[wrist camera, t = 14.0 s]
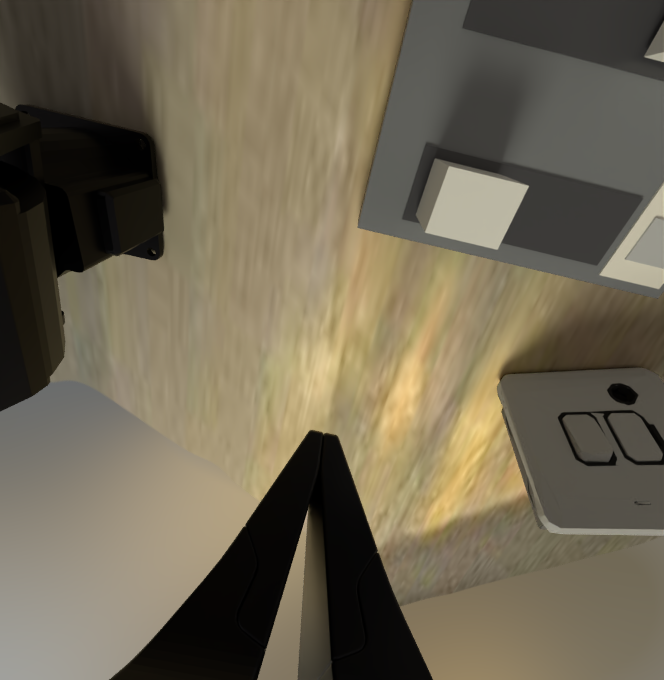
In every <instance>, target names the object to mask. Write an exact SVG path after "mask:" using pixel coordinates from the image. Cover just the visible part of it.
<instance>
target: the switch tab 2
mask: <svg viewBox="0 0 664 680" xmlns="http://www.w3.org/2000/svg"><path fill="white" fill-rule="evenodd" d="M644 57H646V58H650V59H654V60H657V61H661V62H664V22H663V23H662V25H661V27H660V29H659V31H658V32H657V34H656V36H655V38H654V39H653V41H652V43H651V45H650V47H649V48H648V50H647V52H646V54H645V55H644Z"/></svg>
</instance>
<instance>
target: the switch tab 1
mask: <svg viewBox="0 0 664 680" xmlns="http://www.w3.org/2000/svg"><path fill="white" fill-rule="evenodd" d="M528 187H529V186H528V185H526V184H523V183H521V182H518V181H516V180H513V179H511V178H508V177H506V176H503V175H501V174H497V173H492V172H488V171H484V170H480V169H476V168H472V167H468V166H464V165H460V164H456V163H452V162H448V161H444V160H440V159H436V158H435V159H434V162H433V165H432V168H431V171H430V174H429V177H428V180H427V183H426V186H425V189H424V192H423V195H422V198H421V201H420V204H419V207H418V210H417V213H416V216H417V218H418V220H419V222H420V224H421V226H422V228H423V230H424V232H425V233H429V234H433V235H437V236H441V237H445V238H450V239H454V240H458V241H462V242H466V243H471V244H475V245H479V246H483V247H488V248H492V249H496V250H498V248H499V246H500V244H501V242H502V240H503V238H504V236H505V234H506V232H507V230H508V228H509V226H510V224H511V222H512V220H513V218H514V215H515V213H516V211H517V209H518V207H519V205H520V203H521V201H522V199H523V197H524V195H525V193H526V191H527V189H528Z"/></svg>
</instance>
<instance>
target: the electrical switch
mask: <svg viewBox="0 0 664 680" xmlns="http://www.w3.org/2000/svg"><path fill="white" fill-rule="evenodd" d="M497 392H498V396H499V399H500V401H501V404H502V405H503V410H502V415H503V418H504V421H505V424H506V428H507V431H508V434H509V437H510V440H511V443H512V446H513V450H514V453H515V456H516V459H517V462H518V465H519V468H520V471H521V475H522V478H523V481H524V484H525V487H526V490H527V493H528V497H529V500H530V503H531V506H532V509H533V512H534V515H535V519H536V522H537V525H538V527H539V526H540V527H539V528H540V529H548V531H549V532H553V533H559V534H599V535H664V383H663V381H662V380H661V378H660V377H659V376H658V374H656V373H654V372H652V371H650V370H648V369H645V368H640V367H639V368H620V369H601V370H582V371H563V372H544V373H525V374H507V375H505V376H504V377H503V378H502V379H501V381H500V382H499V384H498V386H497Z"/></svg>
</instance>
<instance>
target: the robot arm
mask: <svg viewBox="0 0 664 680" xmlns="http://www.w3.org/2000/svg"><path fill="white" fill-rule="evenodd" d="M28 113H29V115H28ZM140 139H142V140H143V141H144V143H145V149H143V148H142V147H141V146H140V143H139V142H140ZM162 231H164V222H163V210H162V197H161V185H160V183H159V182H158V180H157V169H156V157H155V146H154V142H153V140H152V138H151V137H150V136H149V135H148V134H146V133H144V132H140V131H136V130H131V129H127V128H123V127H119V126H115V125H111V124H107V123H102V122H98V121H94V120H90V119H86V118H82V117H78V116H73V115H69V114H65V113H61V112H57V111H53V110H49V109H45V108H40V107H36V106H32V105H18V106H16V109H13V108H11V107H9V106H7V105H5V104H2V103H0V411H2V410H4V409H6V408H8V407H11V406H13V405H15V404H17V403H19V402H21V401H23V400H25V399H28V398H29V397H32V396H33V395H35V394H36V393H38V392H39V391H40V390H42V389H43V388H44V387H46V386H47V385H48V384H49V383H50V376H51V375H52V374H53V373H54V371H55V370H56V368H57V367H58V365H59V364H60V362H61V361H62V359H63V358H64V352H65V336H64V328H63V325H64V323H65V318H64V312H63V311H61V304H60V296H59V289H58V281H57V278H58V277H60V276H62V275H64V274H66V273H68V272H70V271H74V272H83V271H85V270H87V269H89V268H91V267H93V266H95V265H97V264H98V263H100V262H102V261H104V260H106V259H108V258H110V257H112V256H114V255H115V256H120V255H121V254H127V255H132V256H136V257H140V258H145V259H149V260H157V259H159V258H160V257H162V255H163V241H162ZM151 248H152V249H154V250H155V252H156V254H154V253H153V252H152V251H151ZM308 507H309V508H308ZM307 511H308V520H307V536H306V554H305V569H304V586H303V601H302V617H301V618H302V619H301V634H300V650H299V666H298V680H433V679H432V676H431V674H430V672H429V670H428V668H427V666H426V663H425V661H424V659H423V657H422V655H421V653H420V651H419V648H418V646H417V644H416V642H415V640H414V638H413V635H412V633H411V631H410V629H409V627H408V625H407V623H406V620H405V618H404V616H403V613H402V611H401V609H400V607H399V604H398V602H397V600H396V597H395V595H394V593H393V590H392V588H391V585H390V582H389V580H388V577H387V574H386V572H385V569H384V566H383V563H382V561H381V558H380V555H379V553H377V551H378V550H377V547H376V544H375V541H374V538H373V535H372V532H371V529H370V527H369V524H368V521H367V518H366V515H365V512H364V509H363V507H362V504H361V501H360V498H359V495H358V492H357V489H356V486H355V484H354V481H353V478H352V475H351V472H350V469H349V466H348V463H347V461H346V458H345V455H344V452H343V449H342V446H341V443H340V441H339V438H338V436H337V435H334V434H329V433H324V435H323V433H322V432H319V431H315V430H310V431H309V432H308V433H307V435H306V436H305V438H304V439H303V441H302V442H301V444H300V445H299V447H298V448H297V450H296V451H295V453H294V454H293V455H292V457H291V458H290V460H289V461H288V463H287V464H286V466H285V467H284V469H283V470H282V472H281V473H280V474H279V476H278V477H277V479H276V480H275V482H274V483H273V485H272V486H271V488H270V489H269V491H268V492H267V494H266V495H265V496H264V498H263V499H262V501H261V502H260V504H259V505H258V507H257V508H256V510H255V511H254V513H253V514H252V515H251V517H250V518H249V520H248V521H247V523H246V525H245V527H243V528H242V530H241V531H240V533H239V534H238V536H237V537H236V539H235V540H234V542H233V543H232V544H231V545H230V547H229V548H228V550H227V551H226V552H225V554H224V555H223V556H222V558H221V559H220V560H219V562H218V563H217V564H216V565H215V567H214V568H213V569H212V570H211V571H210V573H209V574H208V575H207V576H206V578H205V579H204V580H203V581H202V582H201V584H200V585H199V586H198V587H197V588H196V589H195V590H194V592H193V593H192V594H191V595H190V596H189V597H188V599H187V600H186V601H185V602H184V603H183V604H182V606H181V607H180V608H179V609H178V610H177V611H176V612H175V614H174V615H173V616H172V617H171V618H170V620H169V621H168V622H167V623H166V624H165V625H164V626H163V628H162V629H161V630H160V631H159V632H158V633H157V634H156V635H155V636H154V638H153V639H152V640H151V641H150V642H149V643H148V644H147V645H146V646H145V647H144V648H143V649H142V650H141V651H140V652H139V654H137V655H136V656H135V657H134V658H133V659H132V660H131V661H130V662H129V663H128V664H127V665H126V666H125V667H124V668H122V669H121V670H120V671H119V672H118V673H117V674H115V675H114V676H113V677H112V678H111V679H109V680H257V678H258V675H259V671H260V668H261V665H262V661H263V658H264V655H265V651H266V648H267V644H268V641H269V638H270V635H271V631H272V628H273V625H274V621H275V618H276V615H277V611H278V608H279V605H280V601H281V598H282V595H283V591H284V588H285V584H286V581H287V578H288V574H289V571H290V568H291V564H292V561H293V558H294V554H295V551H296V547H297V544H298V541H299V538H300V534H301V531H302V528H303V524H304V521H305V517H306V514H307Z"/></svg>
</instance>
